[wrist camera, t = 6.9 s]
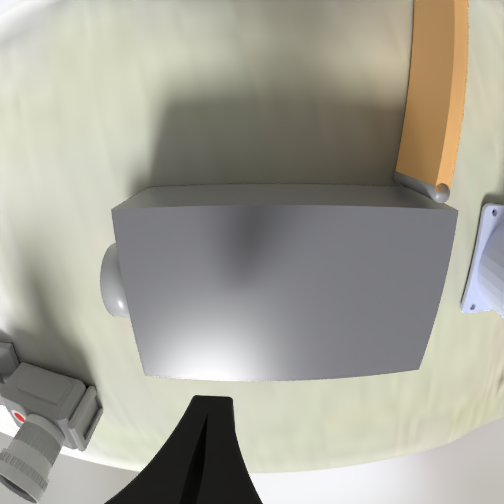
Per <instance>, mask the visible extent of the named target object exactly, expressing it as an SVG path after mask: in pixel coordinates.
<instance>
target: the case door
mask: <svg viewBox="0 0 504 504" xmlns="http://www.w3.org/2000/svg"><path fill="white" fill-rule="evenodd" d="M468 7H469V3H468V0H415V3H414V30H413V46H412V58H411V69H410V79H409V88H408V96H407V104H406V111H405V118H404V125H403V131H402V137H401V143H400V149H399V155H398V160H397V165H396V171H395V173H394V179H395V181H396V182H397V183H399V184H401V185H403V186H405V187H407V188H409V189H411V190H413V191H416V192H418V193H420V194H422V195H424V196H426V197H428V198H430V199H432V200H434V201H436V202H438V203H444V202H446V201H447V200H448V198H449V195H450V187H451V182H452V178H453V173H454V168H455V163H456V157H457V152H458V146H459V140H460V133H461V126H462V119H463V111H464V102H465V92H466V80H467V64H468Z"/></svg>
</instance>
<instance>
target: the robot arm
mask: <svg viewBox="0 0 504 504" xmlns="http://www.w3.org/2000/svg"><path fill="white" fill-rule="evenodd" d="M493 210H494V213H493V214H492V212H493ZM472 304H473V305H472ZM471 305H472V306H471ZM460 309H461V311H462V312H463V313H473V312H480V311H488V310H495V311H496V312H497V313H498V314H499V315H500V316H501V317H502V318H503V319H504V205H500V204H490V203H487V204H485V205H484V206H483V208H482V212H481V219H480V225H479V230H478V236H477V241H476V246H475V251H474V256H473V260H472V264H471V269H470V273H469V277H468V281H467V285H466V289H465V292H464V296H463V299H462V303H461V307H460ZM104 504H263V503H262V502H261V500H260V498H259V496H258V494H257V492H256V490H255V487H254V485H253V483H252V481H251V479H250V477H249V474H248V471H247V469H246V466H245V463H244V460H243V458H242V455H241V451H240V448H239V445H238V441H237V437H236V433H235V421H234V409H233V399H232V398H231V397H223V396H201V395H195V396H194V397H193V398H192V400H191V402H190V404H189V406H188V408H187V410H186V411H185V413H184V415H183V417H182V418H181V420H180V422H179V423H178V425H177V426H176V428H175V429H174V431H173V432H172V434H171V435H170V437H169V438H168V440H167V441H166V442H165V444H164V445H163V446H162V448H161V449H160V450H159V452H158V453H157V454H156V455H155V457H154V458H153V459H152V460H151V461H150V463H149V464H148V465H147V466H146V467H145V468H144V469H143V470H142V471H141V472H140V474H139V475H138V476H137V477H136V478H134V480H132V481H131V482H130V483H129V484H128V485H127V486H126V487H125V488H124V489H122V490H121V491H120V492H119V493H118V494H117V495H115V496H114V497H113V498H111V499H110V500H108V501H107V502H106V503H104Z"/></svg>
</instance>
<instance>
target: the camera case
mask: <svg viewBox="0 0 504 504" xmlns="http://www.w3.org/2000/svg"><path fill="white" fill-rule="evenodd" d="M111 212H112V219H113V227H114V233H115V240H116V243H114V244H112V245H110V247H109V248H108V249H107V251H106V253H105V255H104V258H103V261H102V266H101V274H100V286H101V294H102V299H103V302H104V305H105V307H106V309H107V311H108V312H109V313H110V314H111V315H112V316H114V317H129V318H130V319H131V323H132V327H133V332H134V336H135V340H136V344H137V348H138V352H139V355H140V359H141V363H142V366H143V370H144V374H145V376H155V377H167V378H180V379H196V380H219V381H295V380H318V379H335V378H348V377H360V376H370V375H379V374H388V373H396V372H404V371H411V370H418V369H419V367H420V364H421V361H422V359H423V356H424V353H425V350H426V347H427V344H428V341H429V338H430V334H431V331H432V328H433V324H434V321H435V318H436V314H437V311H438V307H439V303H440V299H441V295H442V292H443V287H444V283H445V279H446V275H447V270H448V266H449V261H450V256H451V251H452V246H453V240H454V235H455V229H456V223H457V216H458V210H456V209H454V208H452V207H450V206H448V205H446V204H445V203H438V202H436V201H434V200H432V199H430V198H428V197H426V196H424V195H422V194H420V193H418V192H416V191H413V190H411V189H409V188H403V187H386V186H367V185H341V184H293V183H253V184H205V185H179V186H159V187H148V188H146V189H144V190H143V191H141V192H139V193H138V194H136V195H134V196H133V197H131V198H129V199H128V200H126V201H124V202H123V203H121V204H119V205H118V206H116V207H115V208H113V209H111Z"/></svg>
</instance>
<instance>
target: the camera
mask: <svg viewBox="0 0 504 504" xmlns="http://www.w3.org/2000/svg"><path fill="white" fill-rule="evenodd" d="M96 394H97V392H96V388H95V387H94V386H89V387H88V389H87V390H86V387H85V385H84V383H83V381H82V380H78V379H75V378H71V377H68V376H65V375H61V374H58V373H55V372H52V371H49V370H46V369H43V368H40V367H37V366H34V365H31V364H29V363H25V362H22V363H21V364H19V361H18V359H17V356H16V353H15V351H14V348H13V345H12V343H4V342H0V405H4V406H6V408H7V410H8V411H9V412H10V414H11V416H12V417H13V419H14V421H15V423H16V424H17V426H18V427H20V429H19V431H18V432H17V434H16V436H15V437H14V439H13V441H12V442H11V444H10V445H9V447H8V449H3V450H2V452H1V453H0V483H1V484H3V485H4V486H5V487H6V488H8V489H9V490H10V491H12V492H13V493H15V494H16V495H18V496H19V497H21V498H23V499H25V500H26V501H29V502H31V503H33V504H39V503H40V501H41V498H42V496H43V494H44V492H45V489H46V487H47V485H48V483H49V479H48V478H47V476H48V474H49V472H50V470H51V468H52V466H53V464H54V462H55V460H56V458H57V456H58V454H59V452H60V450H61V448H62V446H65V447H68V448H71V449H73V450H74V449H77V448H78V449H79V451H84V450H85V449H86V447H87V445H88V443H89V441H90V439H91V436H92V434H93V432H94V430H95V428H96V426H97V424H98V422H99V420H100V417H101V415H102V413H103V411H102V408H100V409H98V406H97V403H96V399H95V396H96Z"/></svg>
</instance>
